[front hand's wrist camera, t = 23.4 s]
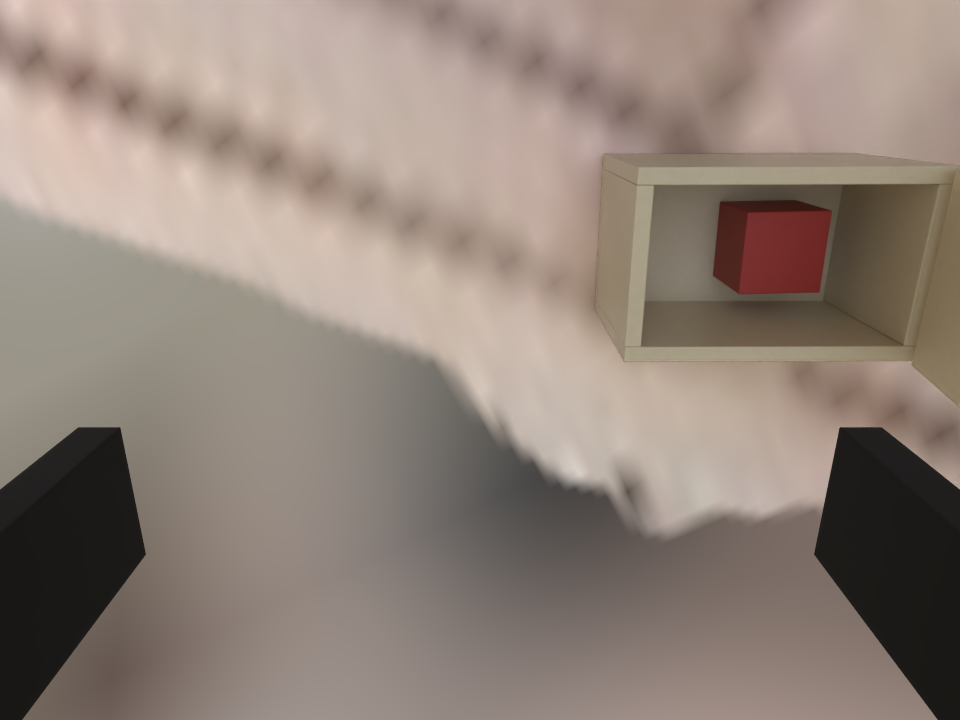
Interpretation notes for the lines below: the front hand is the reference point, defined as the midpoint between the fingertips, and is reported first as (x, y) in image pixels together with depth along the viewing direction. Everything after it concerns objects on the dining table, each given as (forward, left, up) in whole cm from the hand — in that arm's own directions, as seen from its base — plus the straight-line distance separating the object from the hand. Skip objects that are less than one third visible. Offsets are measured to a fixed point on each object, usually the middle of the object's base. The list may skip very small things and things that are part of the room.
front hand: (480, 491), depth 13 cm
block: (+10, +10, -29) cm, 32 cm away
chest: (+11, +11, -32) cm, 35 cm away
